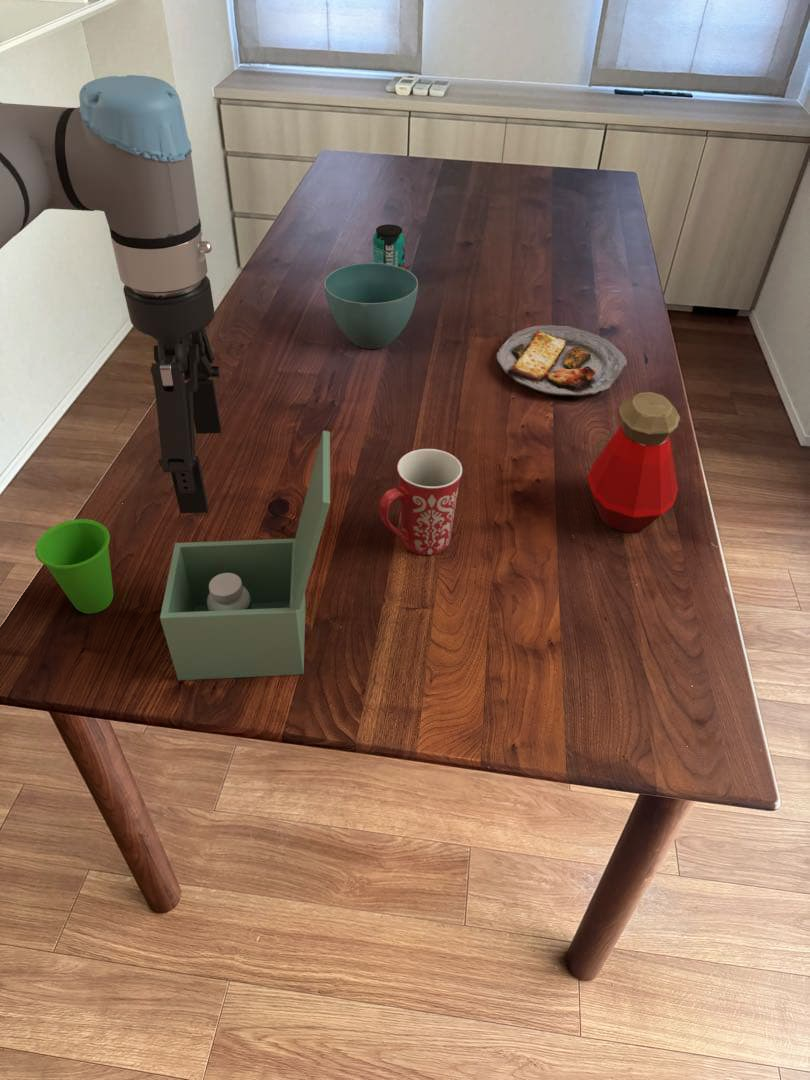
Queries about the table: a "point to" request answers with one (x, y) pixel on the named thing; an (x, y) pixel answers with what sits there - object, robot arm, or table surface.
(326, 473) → the lid
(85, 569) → the cup
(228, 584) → the pill bottle
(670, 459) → the bottle
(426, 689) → the table surface
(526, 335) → the food plate
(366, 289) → the plant pot
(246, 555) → the chest
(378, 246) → the beverage can
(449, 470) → the mug
